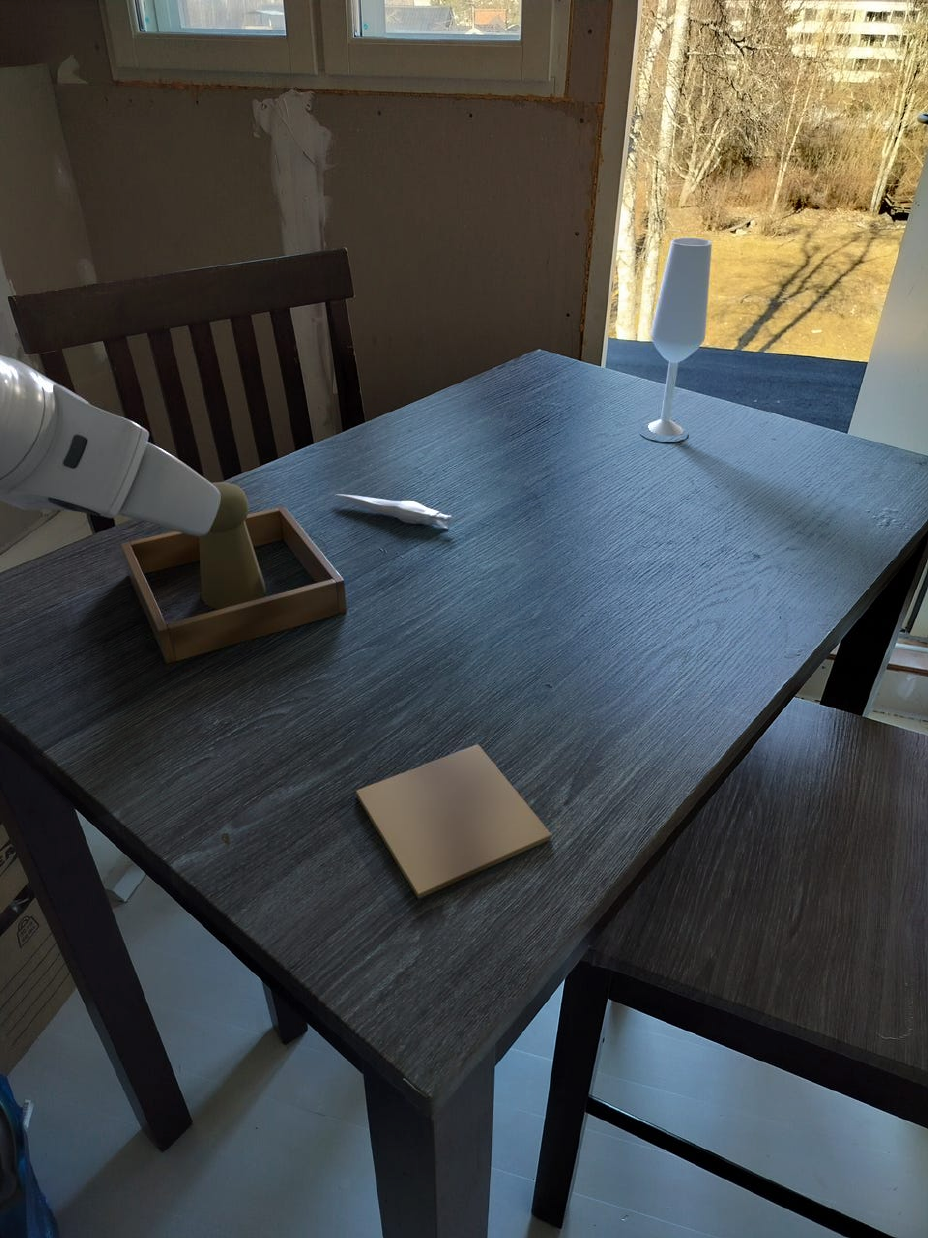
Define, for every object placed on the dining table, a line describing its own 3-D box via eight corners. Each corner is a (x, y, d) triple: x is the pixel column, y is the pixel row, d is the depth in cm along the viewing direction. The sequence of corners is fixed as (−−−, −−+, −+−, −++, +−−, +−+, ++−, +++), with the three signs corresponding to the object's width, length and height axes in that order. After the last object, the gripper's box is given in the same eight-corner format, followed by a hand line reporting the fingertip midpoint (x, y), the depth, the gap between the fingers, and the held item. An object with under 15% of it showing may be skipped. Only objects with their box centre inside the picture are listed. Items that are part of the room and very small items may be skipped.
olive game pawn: (188, 601, 81) (166, 496, 74) (226, 570, 85) (208, 469, 79) (242, 615, 79) (224, 509, 72) (278, 583, 83) (263, 480, 77)
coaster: (418, 899, 53) (418, 894, 53) (355, 795, 60) (355, 790, 60) (551, 839, 57) (552, 834, 57) (478, 748, 64) (478, 743, 64)
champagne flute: (634, 439, 113) (659, 245, 99) (641, 420, 118) (666, 234, 104) (686, 445, 111) (718, 249, 97) (691, 426, 116) (722, 237, 102)
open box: (166, 664, 73) (158, 631, 71) (128, 573, 85) (120, 543, 83) (347, 612, 79) (344, 580, 77) (287, 534, 91) (284, 505, 89)
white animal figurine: (457, 524, 93) (457, 509, 92) (447, 535, 91) (447, 519, 90) (341, 497, 98) (340, 482, 97) (328, 506, 96) (327, 491, 95)
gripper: (-88, 453, 61) (59, 516, 74) (117, 517, 54) (242, 575, 66) (-54, 374, 62) (86, 449, 75) (154, 426, 54) (271, 501, 67)
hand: (161, 509), depth 70 cm, fingers open, 8 cm apart
